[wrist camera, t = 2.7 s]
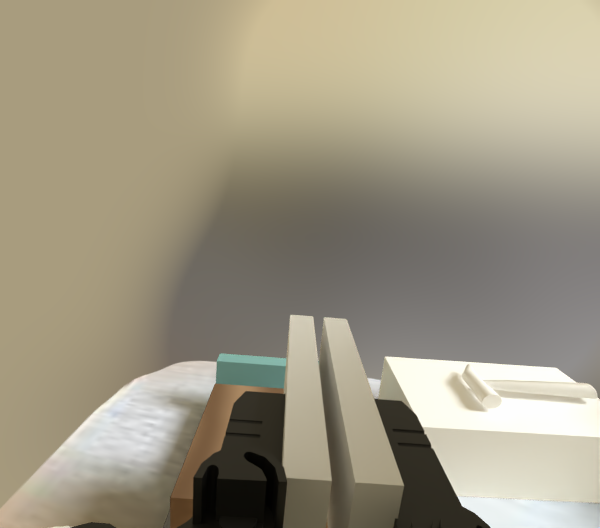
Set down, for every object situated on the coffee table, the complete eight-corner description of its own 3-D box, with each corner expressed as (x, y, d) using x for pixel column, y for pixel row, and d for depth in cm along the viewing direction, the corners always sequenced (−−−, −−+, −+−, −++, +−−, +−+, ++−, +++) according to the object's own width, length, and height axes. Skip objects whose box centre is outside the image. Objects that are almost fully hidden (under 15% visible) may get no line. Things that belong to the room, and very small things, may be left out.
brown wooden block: (355, 465, 35) (365, 394, 33) (384, 609, 24) (403, 512, 22) (212, 456, 35) (215, 383, 33) (170, 597, 23) (170, 497, 21)
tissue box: (376, 410, 52) (387, 341, 50) (541, 419, 53) (560, 353, 51) (407, 496, 38) (425, 407, 36) (630, 506, 39) (663, 421, 37)
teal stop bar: (351, 415, 50) (358, 363, 48) (353, 425, 48) (361, 371, 46) (218, 405, 49) (220, 353, 48) (214, 415, 47) (216, 361, 46)
